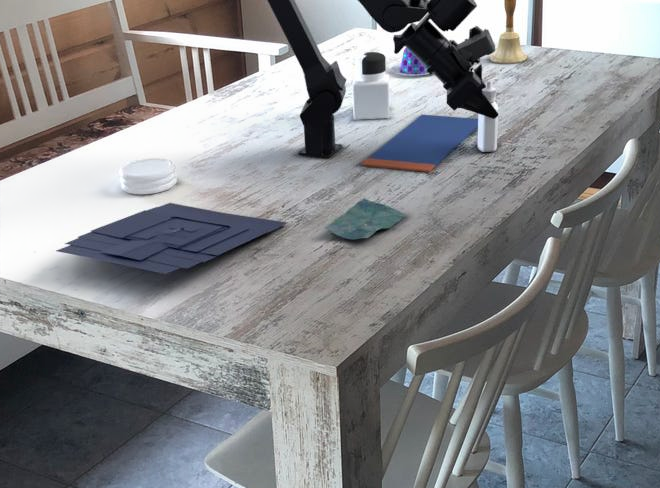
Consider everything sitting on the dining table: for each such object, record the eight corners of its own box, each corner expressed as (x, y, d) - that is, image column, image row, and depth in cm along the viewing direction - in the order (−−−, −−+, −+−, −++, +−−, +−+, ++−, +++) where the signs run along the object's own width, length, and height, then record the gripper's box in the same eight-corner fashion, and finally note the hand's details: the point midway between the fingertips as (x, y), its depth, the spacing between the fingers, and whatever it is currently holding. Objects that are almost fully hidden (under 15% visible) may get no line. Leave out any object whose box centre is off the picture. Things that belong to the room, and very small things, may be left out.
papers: (47, 266, 156) (44, 243, 154) (169, 218, 178) (168, 197, 177) (177, 295, 144) (176, 269, 142) (290, 239, 167) (290, 217, 165)
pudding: (382, 69, 241) (382, 46, 239) (430, 61, 244) (430, 38, 241) (403, 81, 232) (403, 57, 229) (452, 73, 234) (453, 49, 231)
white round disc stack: (126, 199, 181) (123, 179, 180) (117, 181, 190) (115, 162, 188) (182, 189, 183) (179, 170, 181) (171, 172, 192) (169, 153, 190)
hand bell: (512, 65, 236) (515, -9, 227) (482, 60, 241) (485, -12, 233) (534, 57, 240) (538, -16, 232) (504, 52, 246) (507, -19, 237)
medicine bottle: (389, 108, 215) (388, 48, 209) (389, 118, 209) (388, 57, 203) (354, 109, 216) (352, 50, 210) (353, 120, 210) (351, 59, 204)
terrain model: (364, 208, 169) (364, 197, 168) (407, 217, 165) (407, 206, 164) (323, 237, 160) (323, 226, 159) (367, 248, 156) (367, 236, 155)
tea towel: (429, 172, 181) (429, 170, 181) (360, 165, 187) (360, 163, 187) (484, 121, 203) (484, 119, 203) (421, 116, 209) (421, 114, 209)
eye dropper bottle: (469, 151, 189) (471, 84, 182) (481, 141, 193) (483, 76, 186) (492, 153, 187) (495, 86, 180) (504, 144, 191) (506, 78, 184)
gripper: (468, 28, 170) (533, 93, 174) (468, 4, 186) (528, 64, 190) (419, 78, 176) (484, 140, 180) (423, 50, 191) (483, 109, 195)
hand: (496, 111), depth 186 cm, fingers closed on eye dropper bottle, 5 cm apart
